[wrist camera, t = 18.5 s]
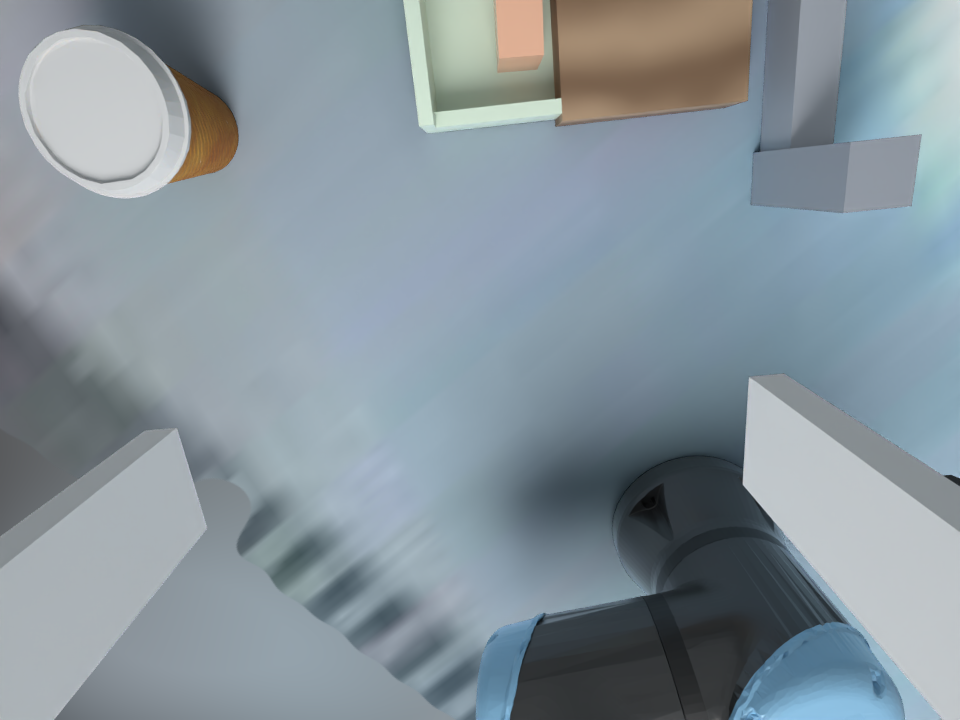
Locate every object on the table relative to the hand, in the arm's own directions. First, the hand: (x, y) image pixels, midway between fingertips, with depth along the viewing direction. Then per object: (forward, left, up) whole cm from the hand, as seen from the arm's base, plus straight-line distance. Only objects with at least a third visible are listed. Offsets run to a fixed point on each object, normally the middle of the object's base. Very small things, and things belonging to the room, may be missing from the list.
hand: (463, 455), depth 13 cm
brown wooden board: (+18, -14, -35) cm, 41 cm away
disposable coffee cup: (+12, +21, -35) cm, 42 cm away
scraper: (+14, -24, -35) cm, 45 cm away
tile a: (+16, -6, -32) cm, 36 cm away
